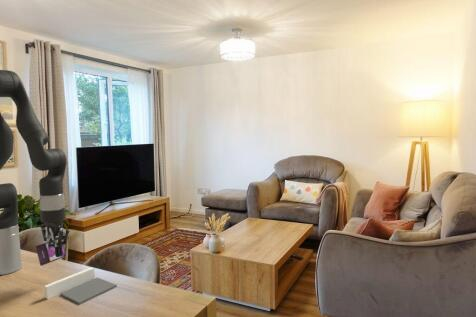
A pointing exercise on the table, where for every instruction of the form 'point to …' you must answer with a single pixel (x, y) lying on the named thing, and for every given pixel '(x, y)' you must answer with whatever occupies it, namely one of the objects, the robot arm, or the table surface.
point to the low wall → (69, 282)
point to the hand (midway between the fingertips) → (55, 254)
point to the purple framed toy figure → (47, 253)
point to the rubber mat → (88, 290)
